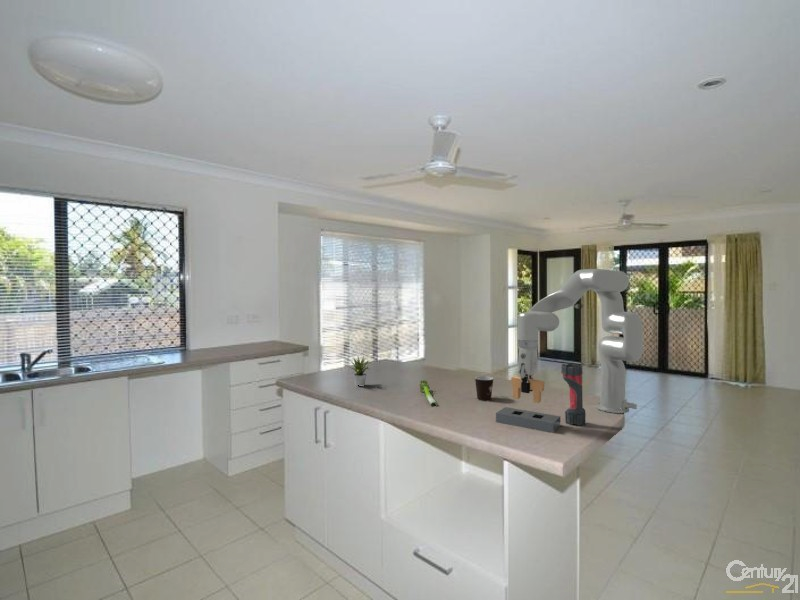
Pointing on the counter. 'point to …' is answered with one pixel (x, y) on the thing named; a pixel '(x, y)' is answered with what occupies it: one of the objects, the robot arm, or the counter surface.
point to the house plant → (360, 371)
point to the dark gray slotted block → (528, 419)
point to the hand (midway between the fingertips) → (527, 391)
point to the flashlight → (574, 394)
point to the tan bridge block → (534, 385)
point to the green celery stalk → (427, 392)
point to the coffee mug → (484, 387)
